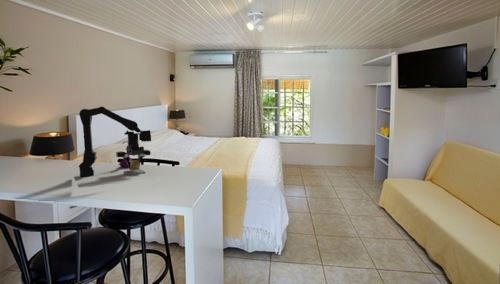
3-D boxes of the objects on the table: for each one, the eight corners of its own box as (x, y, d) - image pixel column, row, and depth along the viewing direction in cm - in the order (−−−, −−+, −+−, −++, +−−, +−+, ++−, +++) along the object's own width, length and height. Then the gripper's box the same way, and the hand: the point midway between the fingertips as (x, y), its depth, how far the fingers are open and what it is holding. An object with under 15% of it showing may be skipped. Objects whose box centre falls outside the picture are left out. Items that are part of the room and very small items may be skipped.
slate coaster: (127, 175, 171) (127, 173, 171) (123, 172, 180) (123, 171, 180) (145, 173, 177) (145, 171, 177) (140, 170, 185) (140, 169, 185)
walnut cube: (130, 170, 175) (130, 162, 174) (128, 169, 179) (128, 160, 178) (139, 169, 177) (139, 161, 177) (137, 168, 182) (137, 160, 181)
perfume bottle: (135, 167, 197) (134, 140, 196) (129, 169, 190) (128, 141, 188) (124, 167, 198) (123, 140, 196) (118, 169, 191) (117, 141, 189)
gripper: (119, 143, 165) (120, 171, 166) (152, 142, 175) (153, 168, 177) (115, 142, 174) (116, 168, 175) (147, 140, 184) (148, 165, 186)
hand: (134, 167), depth 178 cm, fingers closed on walnut cube, 5 cm apart
